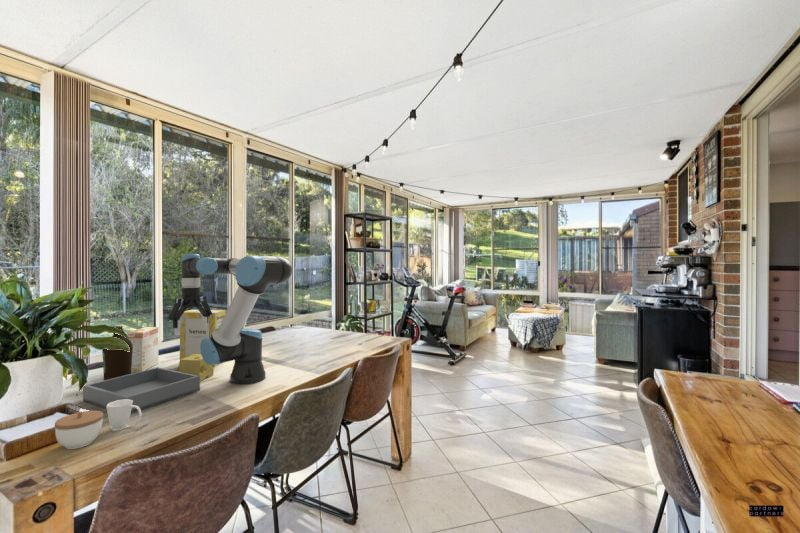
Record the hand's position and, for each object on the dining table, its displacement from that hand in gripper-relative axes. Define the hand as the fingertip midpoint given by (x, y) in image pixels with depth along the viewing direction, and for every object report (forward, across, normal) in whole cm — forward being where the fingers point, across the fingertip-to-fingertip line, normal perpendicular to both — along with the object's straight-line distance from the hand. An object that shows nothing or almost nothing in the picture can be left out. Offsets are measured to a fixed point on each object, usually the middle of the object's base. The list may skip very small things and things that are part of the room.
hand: (191, 332), depth 169 cm
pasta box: (+20, -18, -16) cm, 31 cm away
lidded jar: (+22, +56, +27) cm, 66 cm away
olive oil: (+20, +19, -22) cm, 36 cm away
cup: (+22, +44, +28) cm, 56 cm away
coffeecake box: (+20, 0, -36) cm, 41 cm away
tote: (+21, +23, +4) cm, 32 cm away
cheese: (+21, -1, +2) cm, 21 cm away
